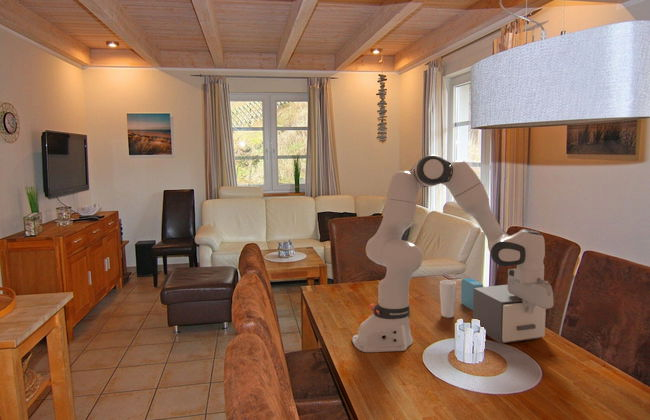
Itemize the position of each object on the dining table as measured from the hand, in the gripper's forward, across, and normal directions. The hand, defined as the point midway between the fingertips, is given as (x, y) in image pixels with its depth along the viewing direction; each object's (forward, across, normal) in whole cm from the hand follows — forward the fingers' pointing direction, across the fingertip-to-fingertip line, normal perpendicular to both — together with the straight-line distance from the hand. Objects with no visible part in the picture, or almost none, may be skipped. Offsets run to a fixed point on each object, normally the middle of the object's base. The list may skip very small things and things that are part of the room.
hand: (528, 312), depth 163 cm
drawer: (+11, +10, 0) cm, 15 cm away
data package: (+12, +42, -3) cm, 43 cm away
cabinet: (+12, +12, 0) cm, 17 cm away
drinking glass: (+12, +34, +13) cm, 39 cm away
